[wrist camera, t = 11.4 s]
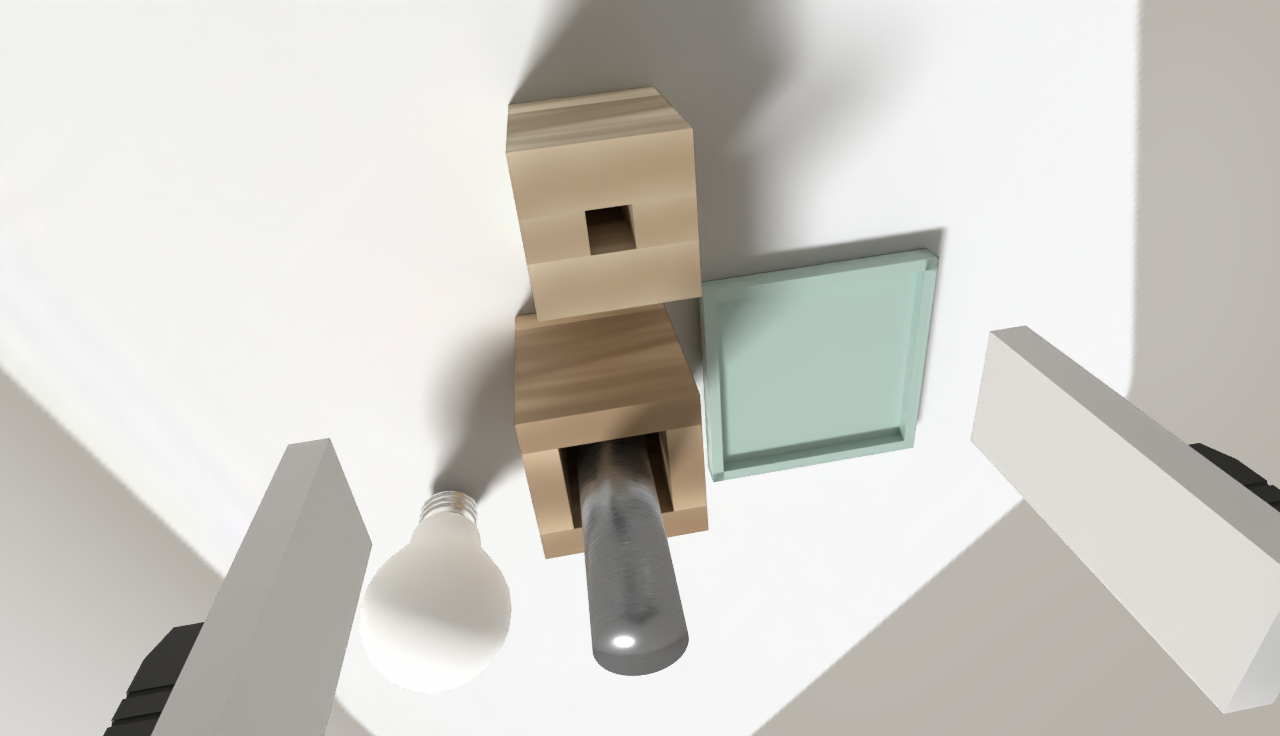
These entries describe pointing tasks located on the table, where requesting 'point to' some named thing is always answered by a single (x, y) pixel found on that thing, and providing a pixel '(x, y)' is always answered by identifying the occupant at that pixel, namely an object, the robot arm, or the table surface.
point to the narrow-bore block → (605, 201)
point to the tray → (814, 362)
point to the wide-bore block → (606, 413)
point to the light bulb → (437, 602)
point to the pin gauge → (628, 560)
